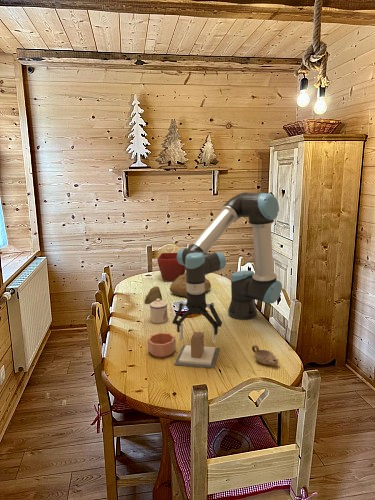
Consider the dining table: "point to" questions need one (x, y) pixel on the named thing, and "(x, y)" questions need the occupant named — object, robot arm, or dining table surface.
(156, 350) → the bowl
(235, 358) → the dining table surface
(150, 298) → the rock
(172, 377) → the dining table surface
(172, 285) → the bread
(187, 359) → the lid
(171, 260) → the plant pot
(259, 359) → the oil lamp
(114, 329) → the dining table surface
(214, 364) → the mat
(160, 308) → the teacup with lid
